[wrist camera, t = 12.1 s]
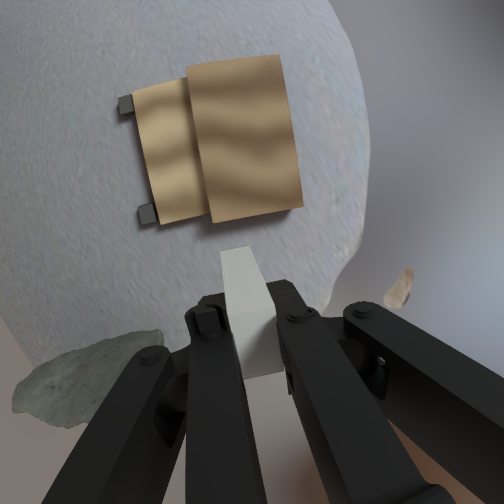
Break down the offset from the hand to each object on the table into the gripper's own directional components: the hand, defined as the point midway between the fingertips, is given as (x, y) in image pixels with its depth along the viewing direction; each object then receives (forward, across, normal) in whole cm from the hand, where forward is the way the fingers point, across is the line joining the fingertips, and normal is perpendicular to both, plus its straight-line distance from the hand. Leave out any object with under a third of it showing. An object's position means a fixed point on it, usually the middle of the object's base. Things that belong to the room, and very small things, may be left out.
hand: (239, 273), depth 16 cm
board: (+26, +4, +8) cm, 28 cm away
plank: (+28, -3, +8) cm, 30 cm away
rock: (+27, -24, -18) cm, 40 cm away
